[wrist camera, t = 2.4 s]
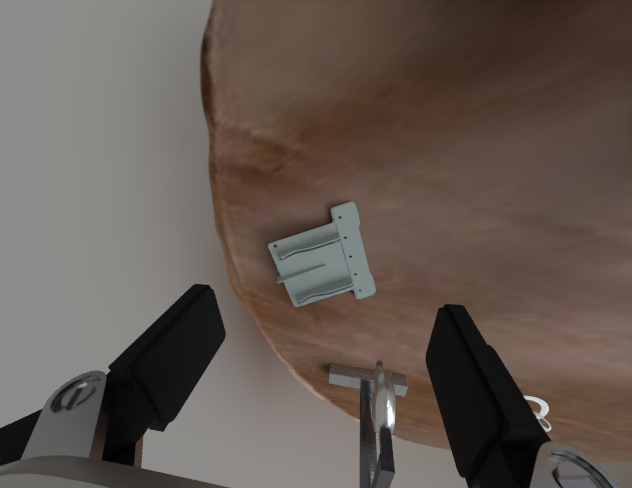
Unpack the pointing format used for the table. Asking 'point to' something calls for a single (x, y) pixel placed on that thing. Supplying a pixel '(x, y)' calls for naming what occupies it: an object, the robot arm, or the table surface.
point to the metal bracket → (324, 260)
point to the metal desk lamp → (373, 418)
